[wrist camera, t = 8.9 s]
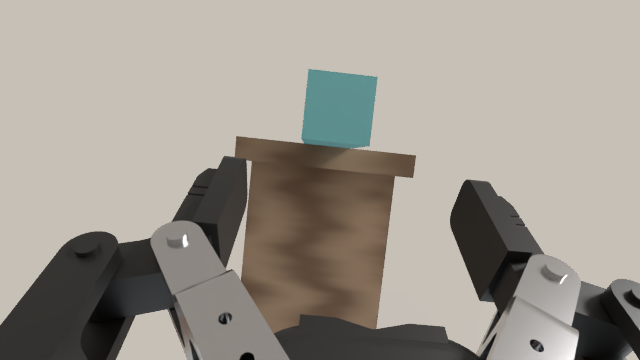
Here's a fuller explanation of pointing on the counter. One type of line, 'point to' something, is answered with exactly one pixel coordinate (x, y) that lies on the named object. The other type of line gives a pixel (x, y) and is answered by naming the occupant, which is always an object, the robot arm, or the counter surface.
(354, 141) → the teal bar
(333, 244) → the walnut pedestal
